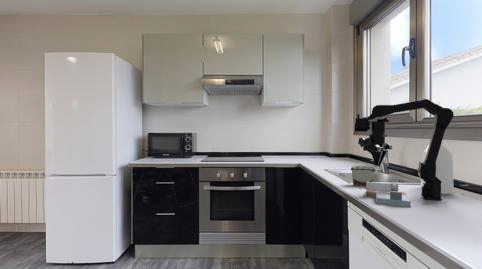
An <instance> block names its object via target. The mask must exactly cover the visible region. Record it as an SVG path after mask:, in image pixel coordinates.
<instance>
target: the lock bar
mask: <svg viewBox="0 0 482 269" xmlns="http://www.w3.org/2000/svg"><path fill="white" fill-rule="evenodd" d="M399 186H400V185H399V184H398V183H395V182H393V183H391V182H379V181H377V182H376V181H373V182H366V187H365V189H366V190H374V191H385V192H390V191H397V192H399Z"/></svg>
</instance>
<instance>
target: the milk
mask: <svg viewBox="0 0 482 269" xmlns="http://www.w3.org/2000/svg"><path fill="white" fill-rule="evenodd" d="M428 148H429V145H427V147H426V149H424V150H423V152H422V159H421V162H422V163H423V162H424V160H425V158H426V155H427V151H428ZM453 160H454V159H453V154H452V152H450V150H448V149H447V148H446V147H445V146H444V145H443V144H441V146H440V150H439V153H438V156H437V160H436V177H437V178H438V179H439V180H440V181H442V183H441V195H453V194H454V192H455V191H454V163H453V162H454V161H453ZM423 183H425V182H424V180H423V179H421V178H420V187H421V186H423Z"/></svg>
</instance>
